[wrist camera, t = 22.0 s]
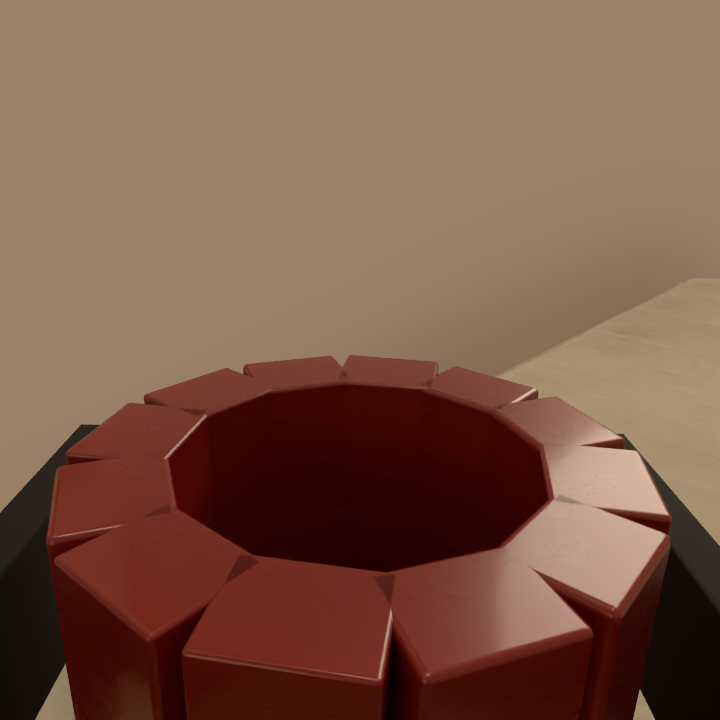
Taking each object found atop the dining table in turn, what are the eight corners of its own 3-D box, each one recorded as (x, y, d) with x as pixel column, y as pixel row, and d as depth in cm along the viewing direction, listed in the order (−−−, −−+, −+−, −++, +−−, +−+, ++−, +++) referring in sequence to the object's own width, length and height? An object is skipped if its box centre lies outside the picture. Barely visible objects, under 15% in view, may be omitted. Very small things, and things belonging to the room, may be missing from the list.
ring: (134, 1361, 7) (5, 801, 4) (119, 757, 13) (65, 381, 10) (677, 1046, 9) (833, 562, 6) (441, 665, 15) (468, 340, 12)
